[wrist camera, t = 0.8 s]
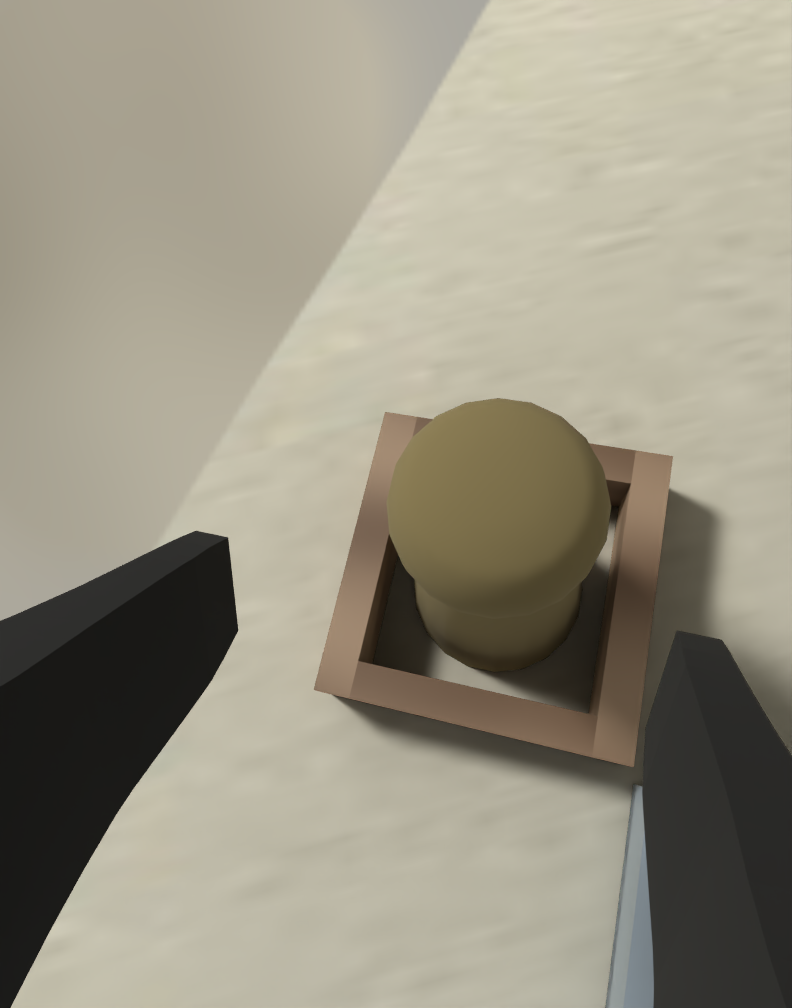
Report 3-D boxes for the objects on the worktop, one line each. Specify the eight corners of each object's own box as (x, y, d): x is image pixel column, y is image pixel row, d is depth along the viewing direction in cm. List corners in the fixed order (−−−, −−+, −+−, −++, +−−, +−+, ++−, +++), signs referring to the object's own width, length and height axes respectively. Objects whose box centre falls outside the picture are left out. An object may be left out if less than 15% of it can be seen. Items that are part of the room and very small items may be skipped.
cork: (581, 509, 26) (637, 355, 15) (583, 677, 24) (650, 631, 13) (418, 505, 27) (368, 358, 16) (408, 667, 25) (345, 617, 14)
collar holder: (619, 764, 23) (633, 766, 20) (331, 694, 25) (313, 689, 22) (656, 482, 26) (672, 456, 23) (394, 439, 28) (385, 411, 25)
